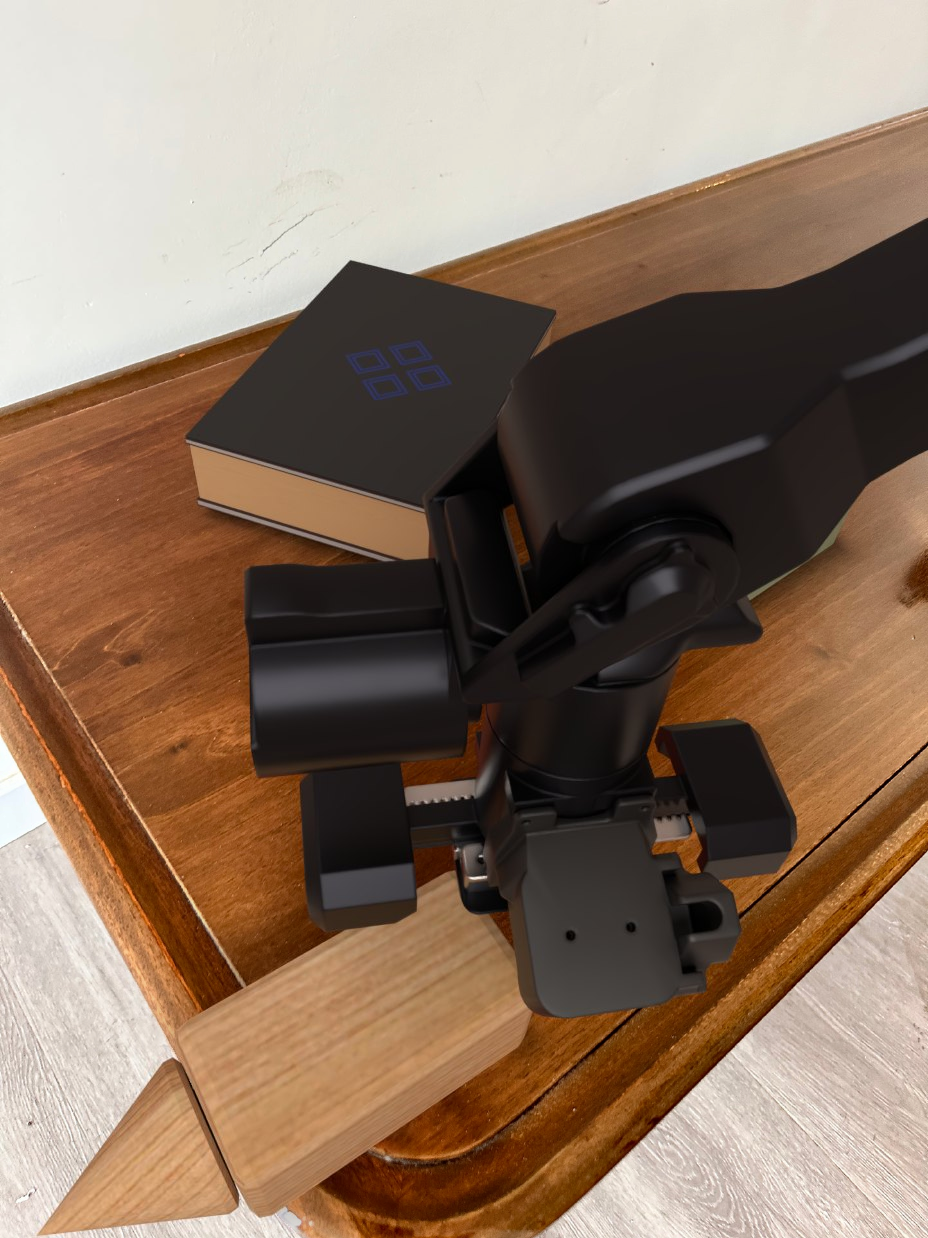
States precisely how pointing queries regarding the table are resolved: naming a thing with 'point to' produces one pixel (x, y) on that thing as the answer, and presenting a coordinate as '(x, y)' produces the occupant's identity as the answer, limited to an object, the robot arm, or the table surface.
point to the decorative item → (308, 1069)
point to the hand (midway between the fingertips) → (523, 909)
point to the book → (363, 409)
